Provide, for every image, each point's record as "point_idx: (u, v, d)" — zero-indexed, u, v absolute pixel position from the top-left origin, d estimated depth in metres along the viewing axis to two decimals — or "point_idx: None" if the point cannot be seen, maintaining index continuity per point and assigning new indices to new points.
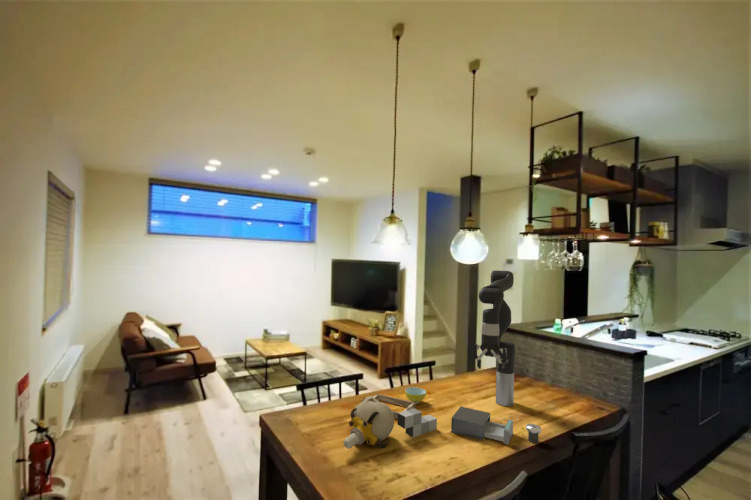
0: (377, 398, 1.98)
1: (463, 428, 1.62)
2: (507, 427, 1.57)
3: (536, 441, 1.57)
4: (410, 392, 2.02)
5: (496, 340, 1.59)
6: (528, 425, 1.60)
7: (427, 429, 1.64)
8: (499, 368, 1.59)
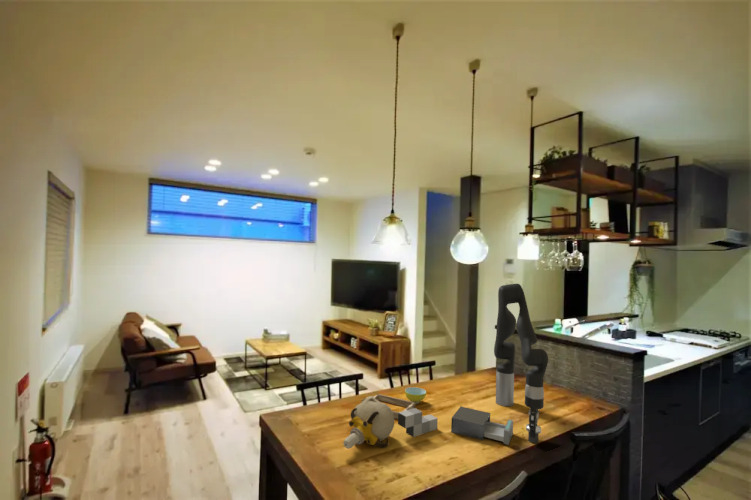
0: (377, 398, 1.98)
1: (463, 428, 1.62)
2: (507, 427, 1.57)
3: (536, 441, 1.57)
4: (410, 392, 2.02)
5: None
6: (528, 425, 1.60)
7: (427, 429, 1.64)
8: None
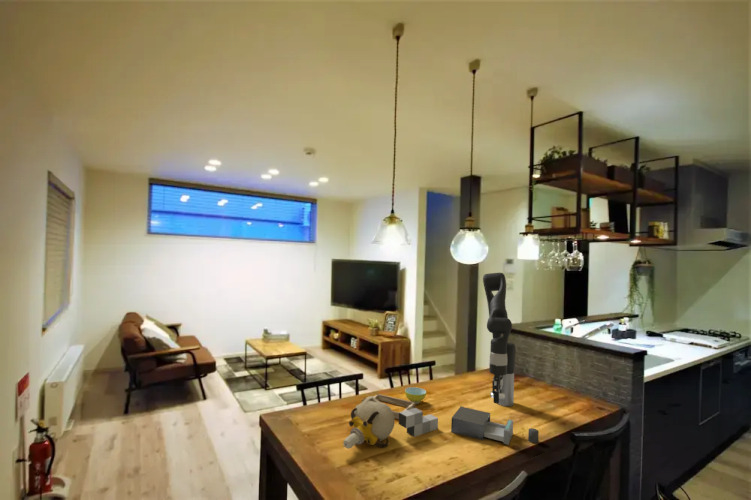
0: (377, 398, 1.98)
1: (463, 428, 1.62)
2: (507, 427, 1.57)
3: (536, 441, 1.57)
4: (410, 392, 2.02)
5: None
6: None
7: (428, 429, 1.64)
8: None
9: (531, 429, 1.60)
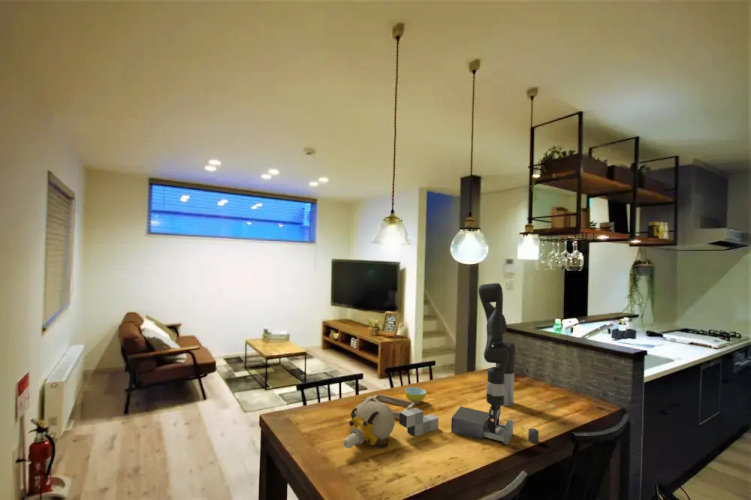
0: (377, 398, 1.98)
1: (463, 428, 1.62)
2: (507, 427, 1.57)
3: (536, 441, 1.57)
4: (410, 392, 2.02)
5: None
6: (489, 426, 1.64)
7: (429, 428, 1.64)
8: (498, 421, 1.66)
9: (531, 429, 1.60)
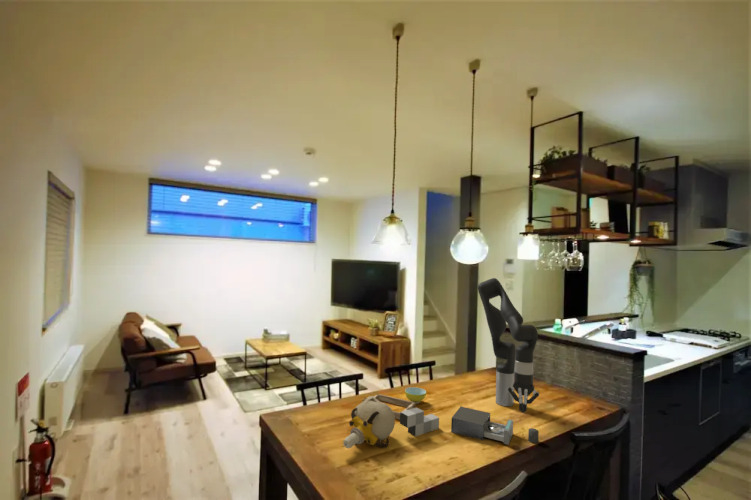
0: (377, 398, 1.98)
1: (463, 428, 1.62)
2: (507, 427, 1.57)
3: (536, 441, 1.57)
4: (410, 392, 2.02)
5: None
6: (489, 426, 1.64)
7: (429, 428, 1.65)
8: None
9: (531, 429, 1.60)
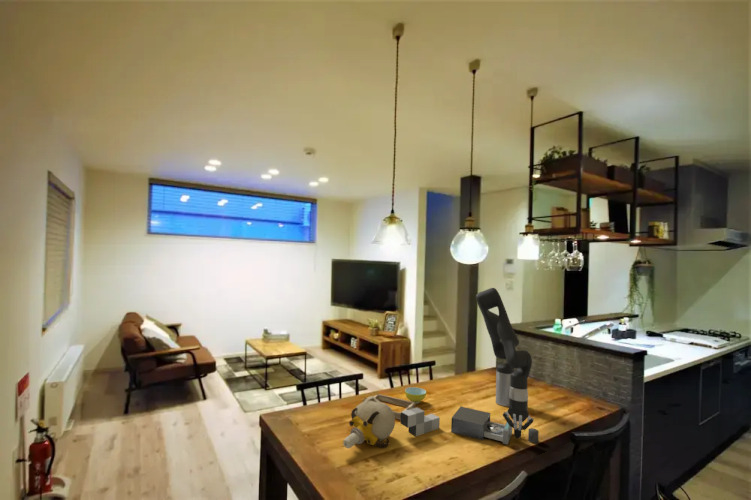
0: (377, 398, 1.98)
1: (463, 428, 1.62)
2: (506, 427, 1.57)
3: (536, 441, 1.57)
4: (410, 392, 2.02)
5: None
6: (489, 425, 1.64)
7: (430, 428, 1.65)
8: None
9: (531, 429, 1.60)
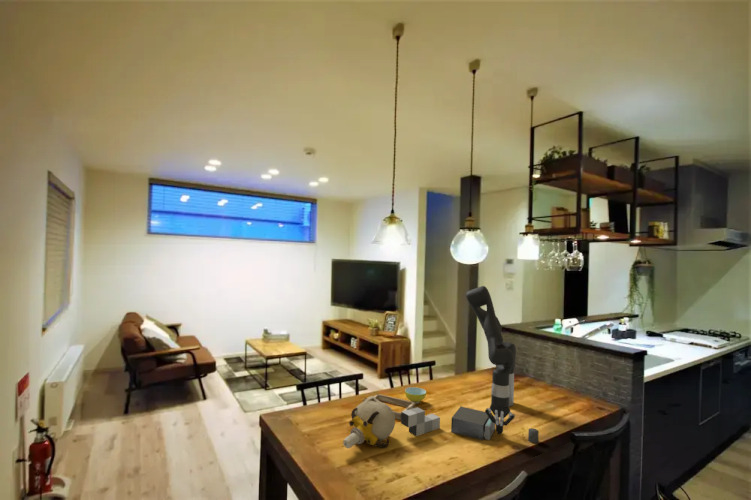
0: (377, 398, 1.98)
1: (463, 428, 1.62)
2: (488, 423, 1.61)
3: (536, 441, 1.57)
4: (410, 392, 2.02)
5: None
6: None
7: (430, 428, 1.65)
8: None
9: (531, 429, 1.60)
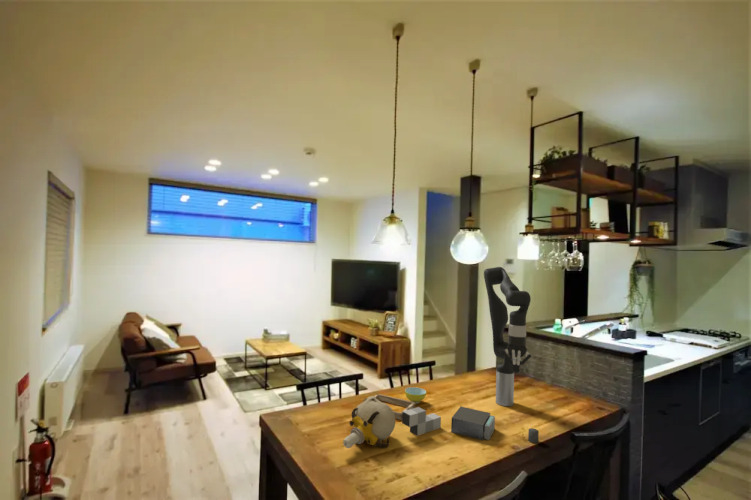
0: (377, 398, 1.98)
1: (463, 428, 1.62)
2: (488, 423, 1.61)
3: (536, 441, 1.57)
4: (410, 392, 2.02)
5: None
6: None
7: (431, 427, 1.65)
8: None
9: (531, 429, 1.60)
